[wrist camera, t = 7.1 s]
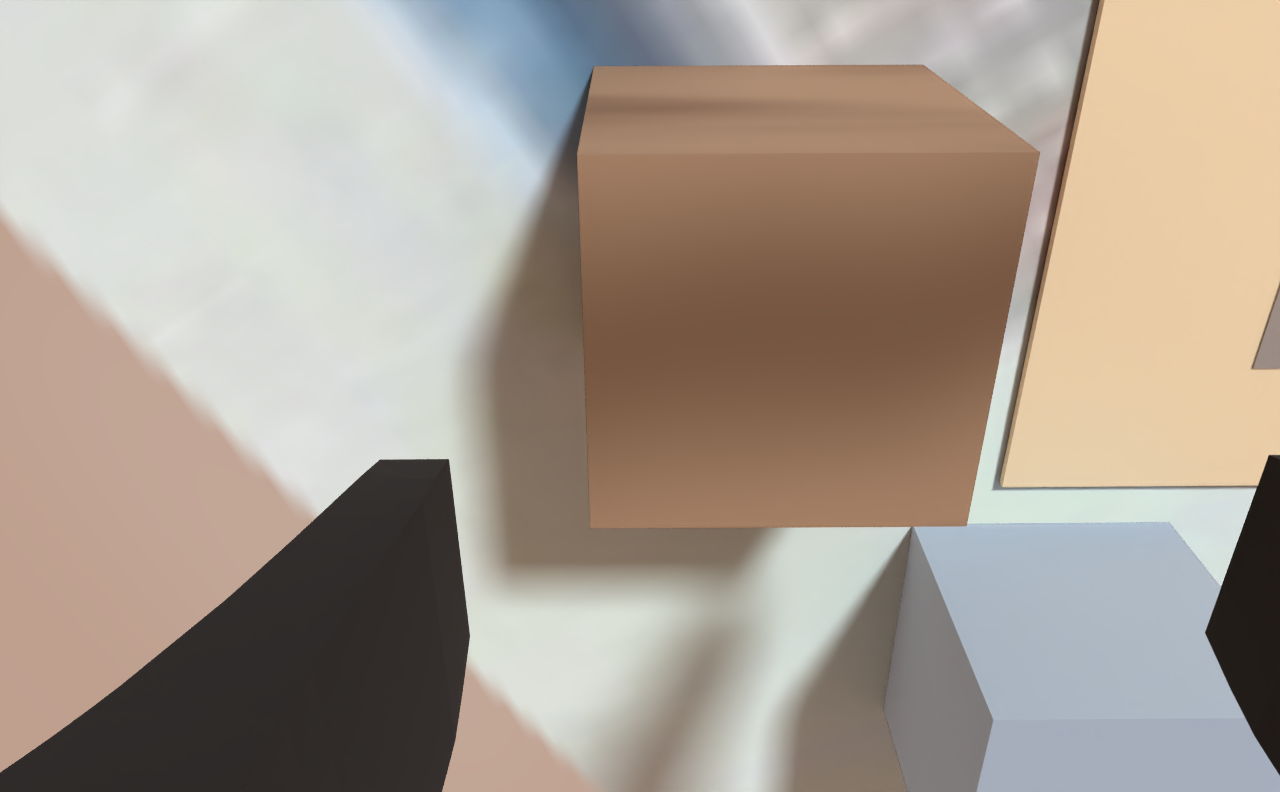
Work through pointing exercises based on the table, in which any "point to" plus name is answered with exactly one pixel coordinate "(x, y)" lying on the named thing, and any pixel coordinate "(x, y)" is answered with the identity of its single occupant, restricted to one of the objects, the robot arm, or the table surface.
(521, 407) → the table surface
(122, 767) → the robot arm
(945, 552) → the cube
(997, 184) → the walnut block
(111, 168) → the table surface
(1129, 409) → the envelope
